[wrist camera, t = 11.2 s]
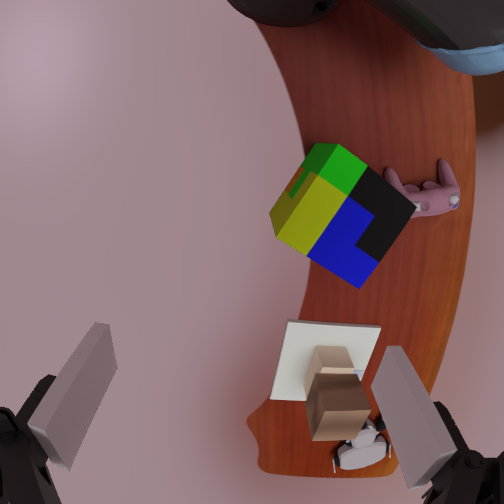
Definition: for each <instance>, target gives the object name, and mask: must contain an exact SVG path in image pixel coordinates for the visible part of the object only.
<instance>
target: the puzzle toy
mask: <svg viewBox="0 0 504 504" xmlns="http://www.w3.org/2000/svg"><path fill="white" fill-rule="evenodd" d="M416 209H417V206H416V205H414V204H413V203H412V202H411V201H410V200H409V199H408V198H406V197H405V196H404V195H403V194H402V193H401V192H399V191H398V190H397V189H396V188H395V187H393V186H392V185H391V184H390V183H389V182H387V181H386V180H385V179H384V178H382V177H381V176H380V175H379V174H377V173H376V172H375V171H374V170H372V169H371V168H370V167H369V166H367V165H366V164H365V163H363V162H362V161H361V160H360V159H358V158H357V157H356V156H354V155H353V154H352V153H350V152H349V151H348V150H346V149H345V148H343V147H342V146H341V145H339V144H329V143H315V145H314V146H313V148H312V149H311V151H310V152H309V154H308V155H307V157H306V158H305V160H304V161H303V163H302V164H301V166H300V167H299V169H298V170H297V172H296V173H295V175H294V176H293V178H292V179H291V181H290V182H289V184H288V185H287V187H286V188H285V190H284V192H283V193H282V194H281V196H280V197H279V199H278V200H277V202H276V203H275V205H274V206H273V208H272V209H271V211H270V213H269V214H270V217H271V221H272V224H273V228H274V232H275V236H276V238H278V239H280V240H281V241H283V242H285V243H286V244H288V245H289V246H291V247H293V248H294V249H296V250H297V251H299V252H301V253H302V254H304V255H305V256H307V257H309V258H310V259H312V260H313V261H315V262H317V263H318V264H320V265H321V266H323V267H325V268H326V269H328V270H329V271H331V272H333V273H334V274H336V275H337V276H339V277H341V278H342V279H344V280H345V281H347V282H349V283H350V284H352V285H353V286H355V287H356V288H358V289H360V287H361V286H362V285H363V283H364V282H365V281H366V280H367V278H368V277H369V276H370V274H371V273H372V272H373V270H374V269H375V267H376V266H377V265H378V263H379V262H380V261H381V259H382V258H383V257H384V255H385V254H386V252H387V251H388V250H389V248H390V247H391V245H392V244H393V243H394V241H395V240H396V238H397V237H398V235H399V234H400V232H401V231H402V230H403V228H404V227H405V225H406V224H407V222H408V221H409V219H410V218H411V216H412V215H413V213H414V212H415V210H416Z"/></svg>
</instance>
